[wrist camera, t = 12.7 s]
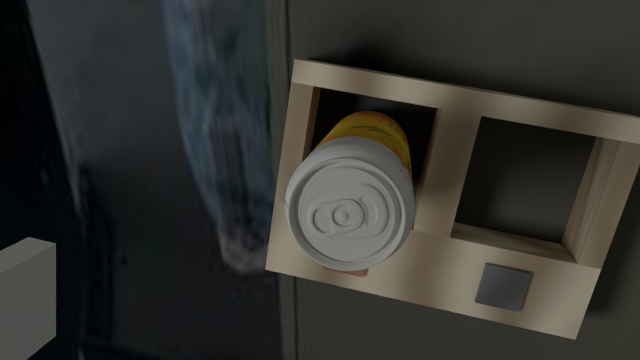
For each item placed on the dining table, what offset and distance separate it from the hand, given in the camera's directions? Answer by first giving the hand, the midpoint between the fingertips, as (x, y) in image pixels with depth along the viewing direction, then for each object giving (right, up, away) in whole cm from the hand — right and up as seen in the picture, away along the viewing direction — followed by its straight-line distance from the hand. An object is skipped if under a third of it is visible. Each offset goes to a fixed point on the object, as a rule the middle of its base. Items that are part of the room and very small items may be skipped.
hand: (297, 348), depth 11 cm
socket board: (+9, +3, +23) cm, 25 cm away
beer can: (+4, +6, +24) cm, 25 cm away
